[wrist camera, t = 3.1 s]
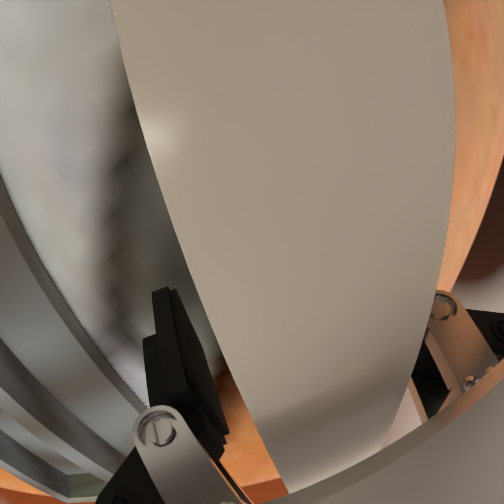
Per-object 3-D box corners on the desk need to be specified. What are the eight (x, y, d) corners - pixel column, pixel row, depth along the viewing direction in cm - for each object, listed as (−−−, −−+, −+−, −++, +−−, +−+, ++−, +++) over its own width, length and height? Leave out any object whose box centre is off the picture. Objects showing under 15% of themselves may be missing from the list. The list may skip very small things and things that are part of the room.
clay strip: (129, 32, 7) (91, -120, 1) (225, 10, 8) (409, -104, 1) (247, 393, 17) (300, 514, 10) (295, 374, 18) (360, 488, 11)
